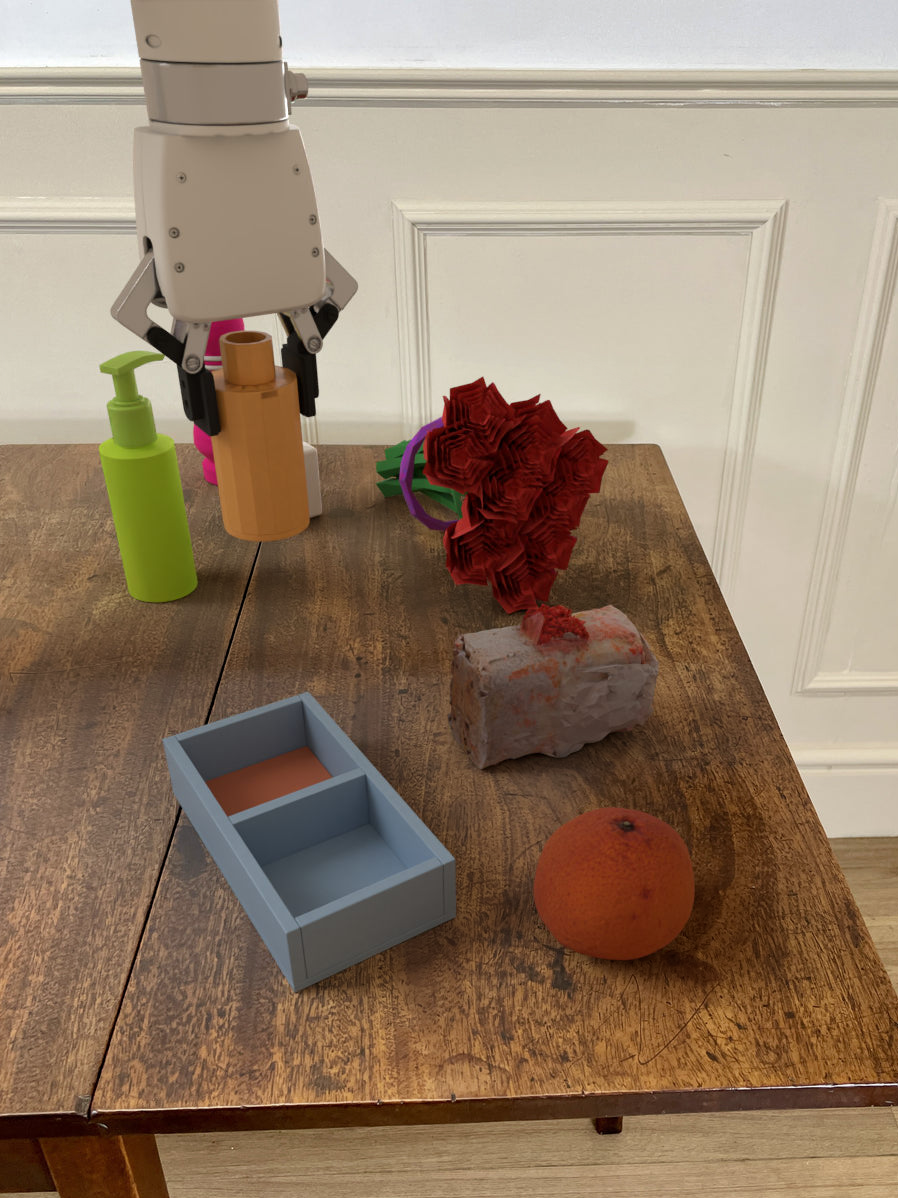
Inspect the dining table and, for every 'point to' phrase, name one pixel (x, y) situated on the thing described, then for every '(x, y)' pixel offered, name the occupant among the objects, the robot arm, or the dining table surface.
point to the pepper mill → (212, 364)
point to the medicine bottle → (312, 480)
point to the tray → (310, 837)
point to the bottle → (258, 442)
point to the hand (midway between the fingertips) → (254, 417)
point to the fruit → (614, 884)
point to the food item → (549, 684)
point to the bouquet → (499, 489)
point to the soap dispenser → (145, 491)
